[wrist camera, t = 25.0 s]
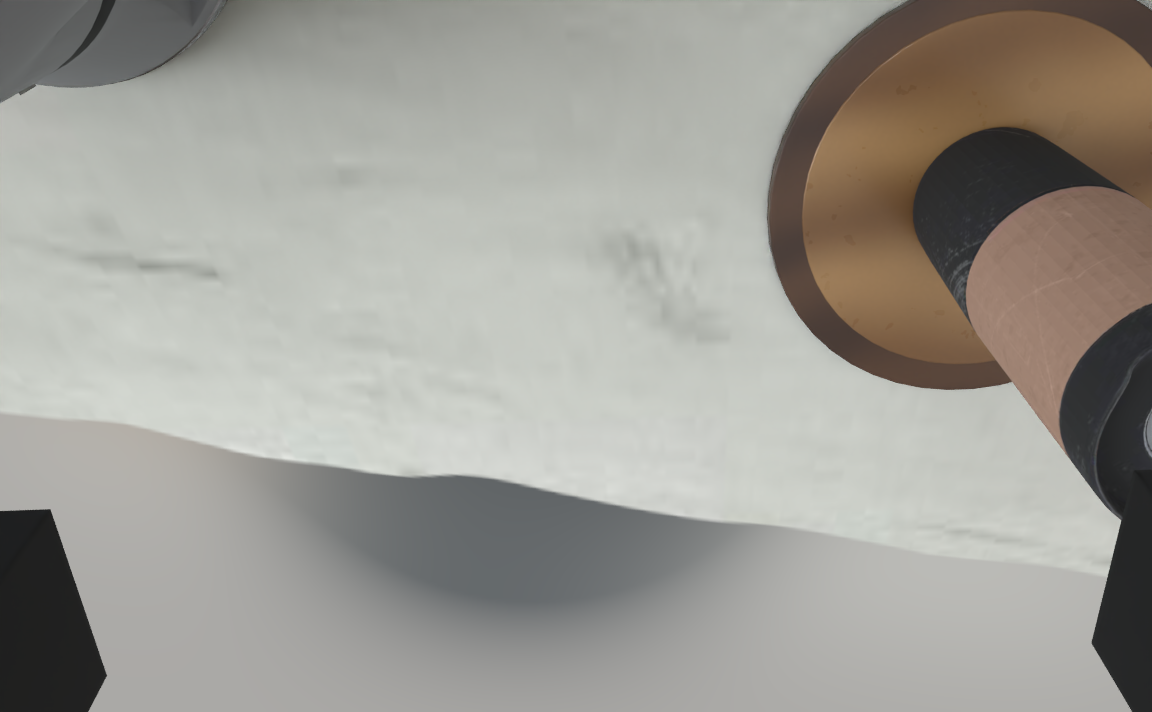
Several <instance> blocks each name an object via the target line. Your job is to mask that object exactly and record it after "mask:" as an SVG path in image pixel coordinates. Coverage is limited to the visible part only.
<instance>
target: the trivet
mask: <svg viewBox="0 0 1152 712" xmlns="http://www.w3.org/2000/svg"><path fill="white" fill-rule="evenodd" d="M999 127H1011V128H1019V129H1024V130H1028V131H1031V132H1034V133H1036V134H1038V135H1040V136H1042V137H1044V138H1045V139H1047V140H1049V141H1051V142H1052V143H1054V144H1055V145H1057V146H1059V147H1060V148H1062V149H1063V150H1065V151H1066V152H1068V153H1069V154H1071V155H1072V156H1074V157H1075V158H1077V159H1078V160H1080V161H1081V162H1082V163H1084V164H1085V165H1087V166H1088V167H1090V168H1091V169H1093V170H1094V171H1096V172H1097V173H1099V174H1100V175H1102V176H1103V177H1105V178H1106V179H1108V180H1109V181H1111V182H1112V183H1114V184H1115V185H1117V186H1118V187H1120V188H1121V189H1123V190H1124V191H1126V192H1127V193H1129V194H1130V195H1132V196H1133V197H1135V198H1136V199H1138V200H1139V201H1140V202H1142V203H1143V204H1144V205H1146V206H1147V207H1148V208H1150V209H1151V210H1152V10H1150V9H1149V8H1148V7H1146V6H1144V5H1143V4H1141V3H1140V2H1138V1H1137V0H909V1H907V2H905V3H904V4H902V5H900V6H899V7H897V8H895V9H894V10H892V11H890V12H889V13H887V14H885V15H884V16H882V17H881V18H879V19H878V20H877V21H875V22H874V23H873V24H871V25H870V26H869V27H868V28H866V29H865V30H864V31H862V32H861V33H860V34H858V35H857V36H856V37H855V38H854V39H853V40H852V41H851V42H850V43H848V44H847V45H846V46H845V47H844V48H843V49H842V50H841V51H840V52H839V53H838V54H837V55H836V56H835V57H834V58H833V59H832V60H831V61H830V63H829V64H828V65H827V66H826V68H825V69H824V70H823V71H822V72H821V74H820V75H819V76H818V77H817V79H816V80H815V81H814V82H813V84H812V85H811V87H810V88H809V90H808V91H807V93H806V94H805V96H804V98H803V99H802V101H801V102H800V104H799V105H798V107H797V109H796V110H795V112H794V115H793V117H792V119H791V121H790V123H789V125H788V127H787V129H786V131H785V134H784V136H783V138H782V141H781V144H780V147H779V150H778V153H777V156H776V159H775V162H774V166H773V172H772V177H771V182H770V188H769V196H768V216H767V220H768V231H769V242H770V247H771V252H772V256H773V260H774V264H775V268H776V271H777V273H778V276H779V278H780V281H781V283H782V286H783V288H784V291H785V293H786V295H787V297H788V299H789V301H790V302H791V304H792V306H793V307H794V309H795V311H796V312H797V314H798V316H799V317H800V318H801V319H802V321H803V322H804V323H805V324H806V326H807V327H808V328H809V329H810V331H811V332H812V333H813V334H814V335H815V336H816V337H817V338H818V339H819V340H820V341H821V342H823V343H824V344H825V345H826V346H827V347H828V348H829V349H830V350H831V351H833V352H834V353H836V354H837V355H839V356H840V357H842V358H843V359H845V360H846V361H848V362H849V363H850V364H852V365H854V366H856V367H858V368H860V369H862V370H864V371H866V372H869V373H871V374H873V375H875V376H878V377H881V378H884V379H887V380H890V381H893V382H896V383H901V384H906V385H911V386H915V387H920V388H931V389H944V390H954V389H975V388H982V387H989V386H996V385H1001V384H1005V383H1009V382H1012V381H1011V379H1010V378H1009V377H1008V375H1007V374H1006V373H1005V371H1004V370H1003V369H1002V367H1001V366H1000V365H999V363H998V362H997V361H996V359H995V358H994V357H993V355H992V354H991V353H990V351H989V350H988V349H987V347H986V346H985V345H984V343H983V342H982V340H981V339H980V338H979V336H978V335H977V333H976V332H975V331H974V329H973V327H972V326H971V324H970V323H969V321H968V320H967V318H966V316H965V315H964V313H963V312H962V310H961V308H960V307H959V305H958V304H957V302H956V301H955V299H954V297H953V296H952V294H951V293H950V291H949V290H948V288H947V286H946V285H945V283H944V282H943V280H942V279H941V277H940V275H939V274H938V272H937V271H936V269H935V267H934V266H933V264H932V263H931V261H930V259H929V258H928V256H927V254H926V253H925V251H924V249H923V247H922V246H921V244H920V242H919V240H918V237H917V235H916V232H915V228H914V223H913V204H914V199H915V194H916V191H917V188H918V185H919V183H920V181H921V179H922V177H923V175H924V173H925V172H926V170H927V169H928V167H929V166H930V165H931V163H932V162H933V161H934V160H935V159H936V158H937V157H938V156H939V155H940V154H941V153H942V152H943V151H944V150H945V149H946V148H948V147H949V146H950V145H952V144H953V143H955V142H956V141H958V140H960V139H961V138H963V137H966V136H968V135H970V134H972V133H975V132H978V131H981V130H985V129H990V128H999Z"/></svg>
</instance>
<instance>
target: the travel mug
mask: <svg viewBox="0 0 1152 712" xmlns="http://www.w3.org/2000/svg"><path fill="white" fill-rule="evenodd" d="M913 223H914V228H915V232H916V235H917V237H918V240H919V242H920V244H921V246H922V247H923V249H924V251H925V253H926V254H927V256H928V258H929V259H930V261H931V263H932V264H933V266H934V267H935V269H936V271H937V272H938V274H939V275H940V277H941V279H942V280H943V282H944V283H945V285H946V286H947V288H948V290H949V291H950V293H951V294H952V296H953V297H954V299H955V301H956V302H957V304H958V305H959V307H960V308H961V310H962V312H963V313H964V315H965V316H966V318H967V320H968V321H969V323H970V324H971V326H972V327H973V329H974V331H975V332H976V333H977V335H978V336H979V338H980V339H981V340H982V342H983V343H984V345H985V346H986V347H987V349H988V350H989V351H990V353H991V354H992V355H993V357H994V358H995V359H996V361H997V362H998V363H999V365H1000V366H1001V367H1002V369H1003V370H1004V371H1005V373H1006V374H1007V375H1008V377H1009V378H1010V379H1011V381H1012V382H1013V383H1014V385H1015V386H1016V387H1017V389H1018V390H1019V391H1020V393H1021V394H1022V395H1023V397H1024V398H1025V400H1026V401H1027V402H1028V404H1029V405H1030V406H1031V408H1032V409H1033V410H1034V412H1035V413H1036V414H1037V416H1038V417H1039V418H1040V420H1041V421H1042V422H1043V424H1044V425H1045V426H1046V428H1047V429H1048V430H1049V432H1050V433H1051V434H1052V436H1053V437H1054V438H1055V440H1056V441H1057V442H1058V444H1059V445H1060V446H1061V448H1062V449H1063V450H1064V452H1065V453H1066V455H1067V456H1068V457H1069V458H1070V460H1071V461H1072V463H1073V464H1074V465H1075V467H1076V468H1077V469H1078V471H1079V472H1080V473H1081V475H1082V476H1083V477H1084V479H1085V480H1086V481H1087V483H1088V484H1089V485H1090V487H1091V488H1092V489H1093V491H1094V492H1095V493H1096V495H1097V496H1098V497H1099V499H1100V500H1101V501H1102V502H1103V504H1104V505H1105V506H1106V507H1107V508H1108V509H1109V510H1110V511H1111V512H1112V513H1114V514H1115V515H1116V516H1117V517H1118V518H1119V519H1121V520H1122V517H1123V513H1124V508H1125V504H1126V500H1127V496H1128V492H1129V488H1130V484H1131V480H1132V476H1133V472H1134V470H1149V469H1152V210H1151V209H1150V208H1148V207H1147V206H1146V205H1144V204H1143V203H1142V202H1140V201H1139V200H1138V199H1136V198H1135V197H1133V196H1132V195H1130V194H1129V193H1127V192H1126V191H1124V190H1123V189H1121V188H1120V187H1118V186H1117V185H1115V184H1114V183H1112V182H1111V181H1109V180H1108V179H1106V178H1105V177H1103V176H1102V175H1100V174H1099V173H1097V172H1096V171H1094V170H1093V169H1091V168H1090V167H1088V166H1087V165H1085V164H1084V163H1082V162H1081V161H1080V160H1078V159H1077V158H1075V157H1074V156H1072V155H1071V154H1069V153H1068V152H1066V151H1065V150H1063V149H1062V148H1060V147H1059V146H1057V145H1055V144H1054V143H1052V142H1051V141H1049V140H1047V139H1045V138H1044V137H1042V136H1040V135H1038V134H1036V133H1034V132H1031V131H1028V130H1024V129H1019V128H1011V127H999V128H990V129H985V130H981V131H978V132H975V133H972V134H970V135H968V136H966V137H963V138H961V139H960V140H958V141H956V142H955V143H953V144H952V145H950V146H949V147H948V148H946V149H945V150H944V151H943V152H942V153H941V154H940V155H939V156H938V157H937V158H936V159H935V160H934V161H933V162H932V163H931V165H930V166H929V167H928V169H927V170H926V172H925V173H924V175H923V177H922V179H921V181H920V183H919V185H918V188H917V191H916V194H915V199H914V204H913Z"/></svg>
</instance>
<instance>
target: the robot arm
mask: <svg viewBox="0 0 1152 712" xmlns="http://www.w3.org/2000/svg"><path fill="white" fill-rule="evenodd" d="M226 1H227V0H0V103H1V102H3V101H5V100H7V99H8V98H10V97H12V96H13V95H15V94H17V93H19V94H20V95H21V94H23V93H25V92H27V91H28V90H30V89H32V88H34V87H35V86H36V85H35V84H37V85H45V86H54V87H69V88H78V87H93V86H101V85H106V84H113V83H117V82H122V81H126V80H130V79H132V78H135V77H138V76H141V75H144V74H146V73H148V72H150V71H152V70H154V69H156V68H158V67H160V66H162V65H163V64H165V63H167V62H168V61H170V60H171V59H173V58H174V57H176V56H177V55H179V54H180V53H181V52H183V51H184V50H185V49H187V48H188V47H189V46H190V45H192V44H193V43H194V42H195V41H196V40H197V39H198V38H199V37H200V36H201V35H202V34H203V33H204V32H205V31H206V30H207V29H208V28H209V27H210V25H211V24H212V23H213V21H214V20H215V19H216V18H217V16H218V15H219V13H220V11H221V10H222V8H223V6H224V5H225V3H226ZM1092 645H1093V646H1094V648H1095V650H1096V651H1097V653H1098V655H1099V656H1100V658H1101V660H1102V662H1103V663H1104V665H1105V667H1106V668H1107V670H1108V672H1109V673H1110V675H1111V677H1112V678H1113V680H1114V681H1115V683H1116V685H1117V687H1118V688H1119V690H1120V692H1121V693H1122V695H1123V697H1124V698H1125V700H1126V702H1127V704H1128V705H1129V707H1130V709H1131V710H1132V712H1152V469H1149V470H1134V472H1133V476H1132V480H1131V484H1130V488H1129V492H1128V496H1127V500H1126V504H1125V508H1124V513H1123V517H1122V521H1121V525H1120V529H1119V533H1118V537H1117V541H1116V545H1115V549H1114V553H1113V557H1112V561H1111V566H1110V570H1109V574H1108V578H1107V582H1106V587H1105V590H1104V594H1103V598H1102V602H1101V606H1100V610H1099V614H1098V619H1097V623H1096V627H1095V631H1094V635H1093V639H1092ZM106 676H107V675H106V672H105V669H104V666H103V663H102V660H101V657H100V654H99V651H98V648H97V646H96V643H95V639H94V636H93V634H92V630H91V628H90V625H89V622H88V619H87V616H86V613H85V610H84V607H83V604H82V601H81V598H80V595H79V592H78V590H77V587H76V583H75V581H74V578H73V575H72V572H71V569H70V566H69V563H68V560H67V557H66V554H65V551H64V548H63V545H62V542H61V539H60V536H59V534H58V531H57V528H56V525H55V522H54V519H53V516H52V513H51V510H50V509H48V510H20V511H0V712H88V711H89V709H90V707H91V705H92V703H93V701H94V699H95V697H96V696H97V694H98V691H99V690H100V688H101V686H102V684H103V682H104V680H105V678H106Z"/></svg>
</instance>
